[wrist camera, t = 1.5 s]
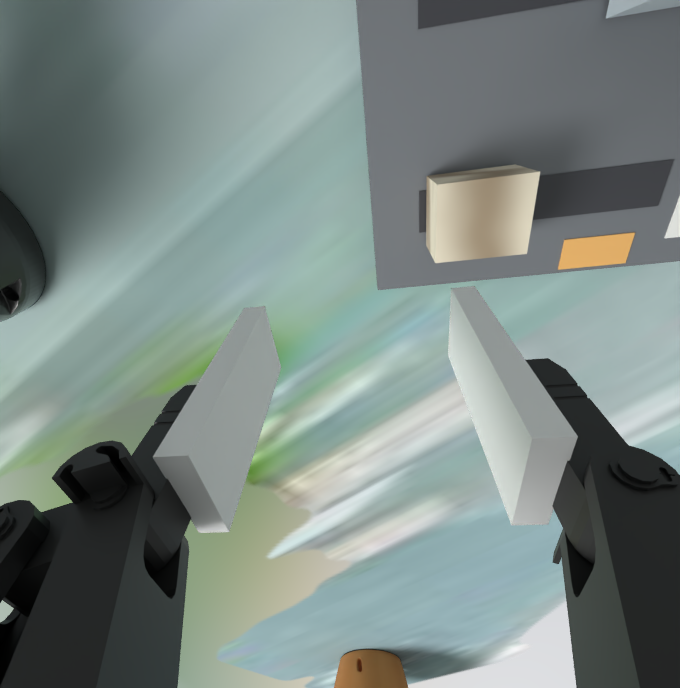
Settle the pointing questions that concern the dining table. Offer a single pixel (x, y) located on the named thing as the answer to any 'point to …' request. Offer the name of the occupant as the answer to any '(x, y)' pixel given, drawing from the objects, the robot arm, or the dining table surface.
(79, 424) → the dining table surface
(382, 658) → the flower pot
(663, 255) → the switch board
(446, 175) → the birch tab
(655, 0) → the pale blue cube
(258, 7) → the dining table surface
